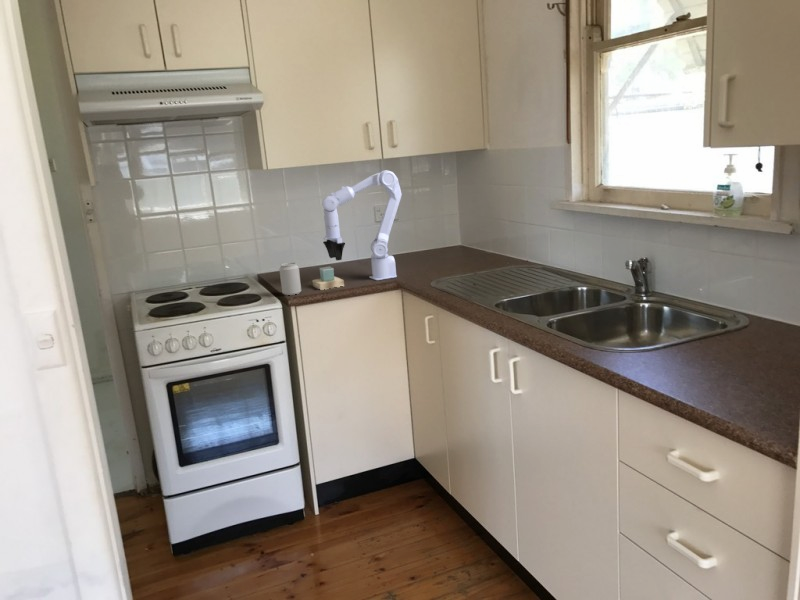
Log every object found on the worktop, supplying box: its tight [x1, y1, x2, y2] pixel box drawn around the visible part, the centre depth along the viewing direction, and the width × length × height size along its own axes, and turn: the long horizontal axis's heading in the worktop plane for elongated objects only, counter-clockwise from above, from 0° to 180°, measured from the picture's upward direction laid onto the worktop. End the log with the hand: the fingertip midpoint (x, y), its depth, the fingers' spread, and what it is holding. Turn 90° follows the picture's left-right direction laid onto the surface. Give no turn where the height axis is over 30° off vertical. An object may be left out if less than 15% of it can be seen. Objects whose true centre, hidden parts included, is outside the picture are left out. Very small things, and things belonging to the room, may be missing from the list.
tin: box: [318, 266, 335, 282], centre depth 266 cm, size 4×4×5 cm
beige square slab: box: [311, 276, 345, 291], centre depth 267 cm, size 10×10×3 cm
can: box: [278, 262, 302, 296], centre depth 257 cm, size 8×8×12 cm
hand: (335, 258), depth 271 cm, fingers open, 7 cm apart
